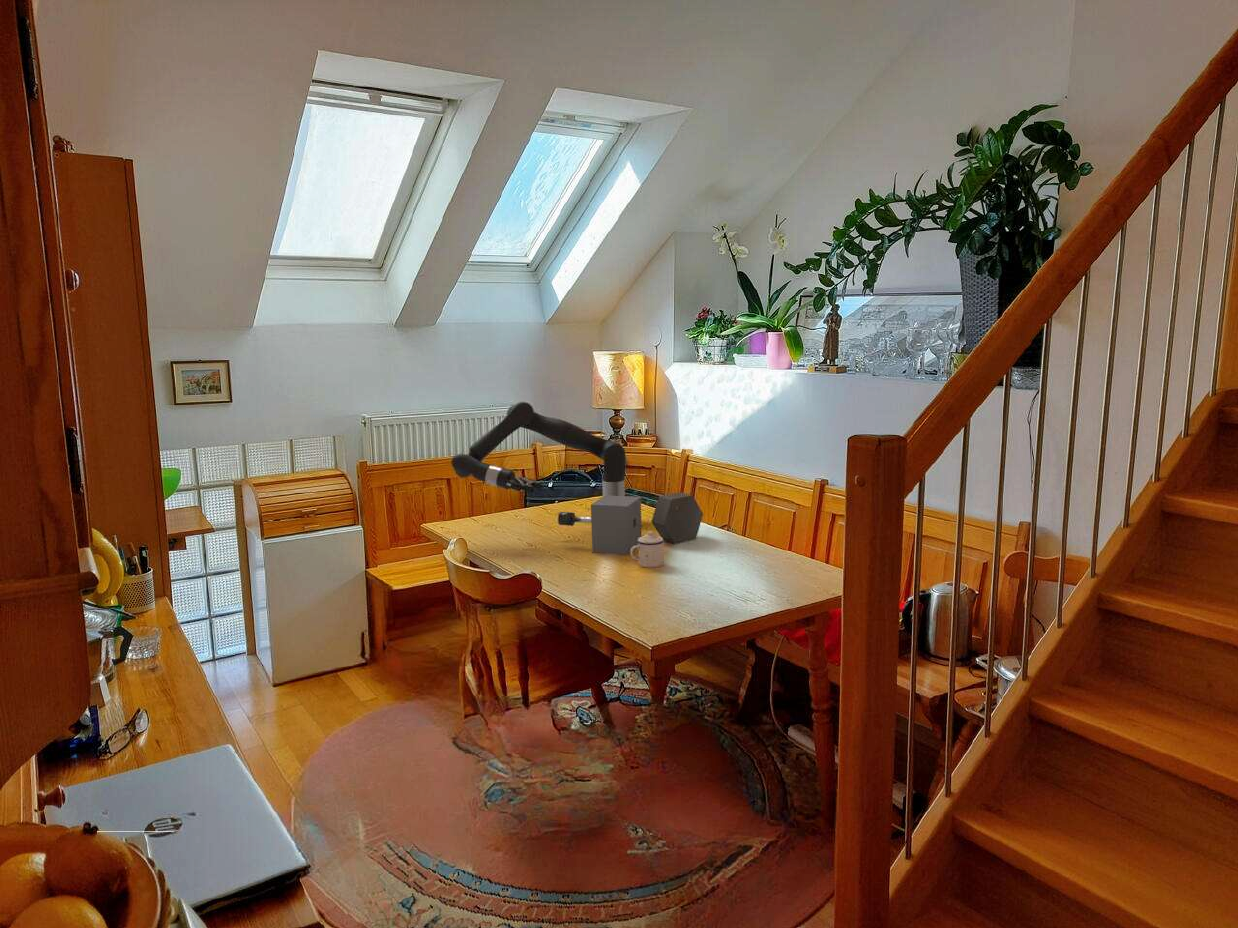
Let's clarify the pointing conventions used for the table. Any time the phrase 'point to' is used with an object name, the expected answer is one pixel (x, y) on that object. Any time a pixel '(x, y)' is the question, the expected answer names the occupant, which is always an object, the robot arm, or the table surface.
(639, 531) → the block
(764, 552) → the table surface
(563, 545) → the table surface
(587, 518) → the plunger
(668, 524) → the dark grey hexagonal block
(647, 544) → the teacup with lid
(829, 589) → the table surface
